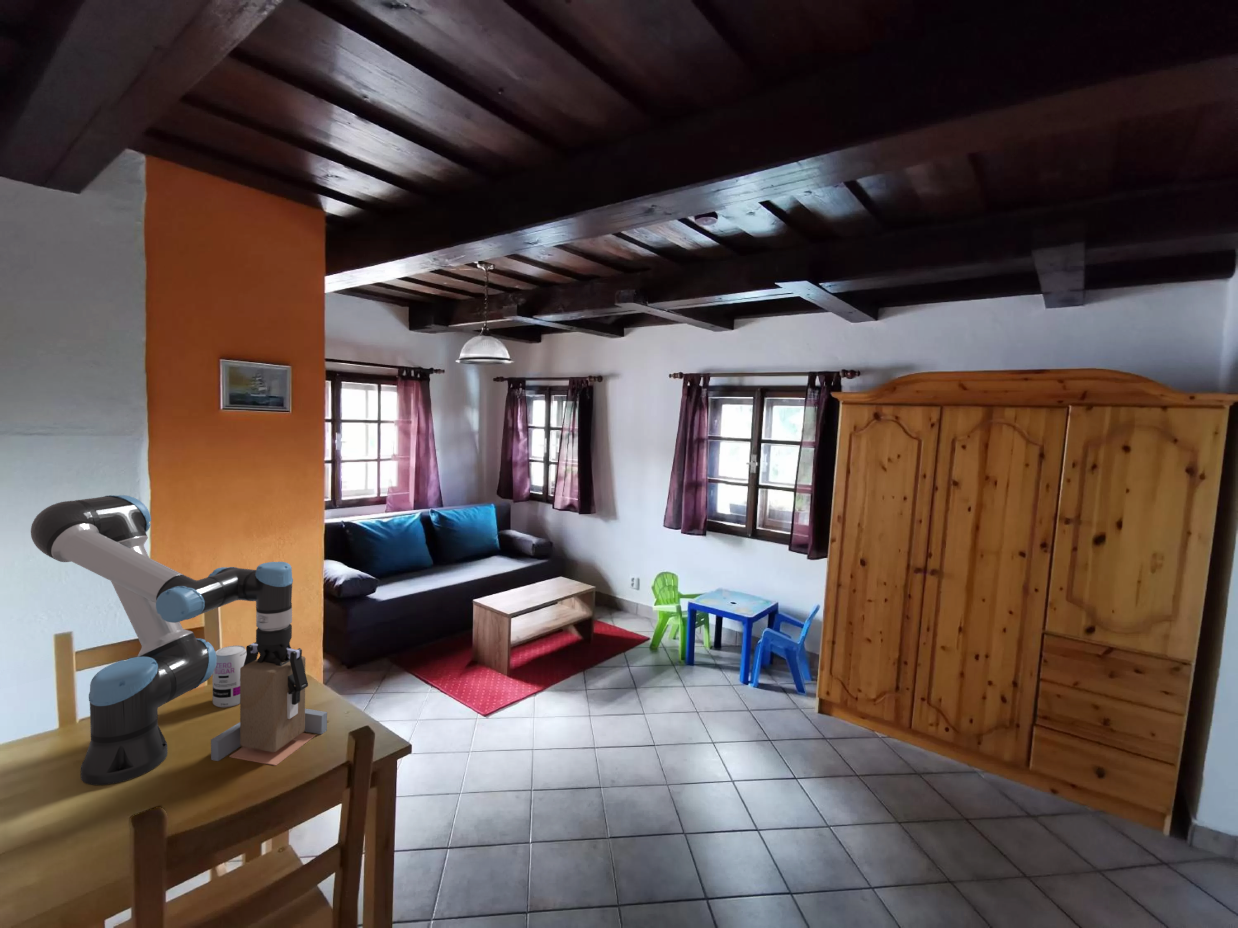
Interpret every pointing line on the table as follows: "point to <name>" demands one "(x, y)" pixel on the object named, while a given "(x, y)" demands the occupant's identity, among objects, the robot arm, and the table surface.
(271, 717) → the wooden block
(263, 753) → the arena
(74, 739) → the table surface
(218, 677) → the supplement can
